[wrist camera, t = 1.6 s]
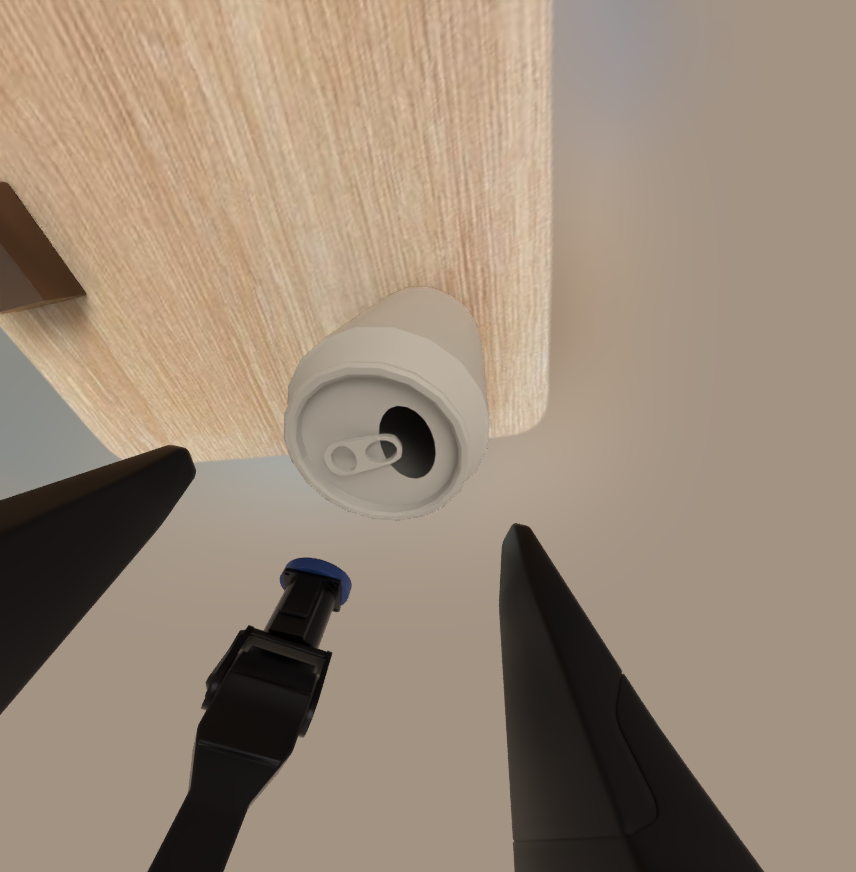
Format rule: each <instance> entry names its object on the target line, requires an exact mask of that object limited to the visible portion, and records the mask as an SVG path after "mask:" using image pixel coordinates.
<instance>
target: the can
mask: <svg viewBox="0 0 856 872" xmlns="http://www.w3.org/2000/svg"><path fill="white" fill-rule="evenodd" d="M489 425H490V417H489V407H488V398H487V388H486V378H485V369H484V359H483V349H482V342H481V338H480V334H479V330H478V327H477V324H476V322H475V320H474V319H473V317H472V316H471V314H470V313H469V311H468V310H467V308H466V307H465V306H464V305H463V304H461V303H460V302H459V301H458V300H456V299H455V298H454V297H452V296H451V295H450V294H448V293H445V292H443V291H440V290H437V289H434V288H431V287H407V288H405V289H402V290H400V291H397V292H395V293H392V294H389V295H388V296H386V297H385V298H383V299H382V300H380V301H379V302H377V303H376V304H375V305H373V306H372V307H370V308H369V309H367V310H366V311H364V312H363V313H361V314H360V315H358V316H357V317H355V318H354V319H352V320H351V321H349V322H348V323H346V324H345V325H343V326H342V327H340V328H339V329H337V330H336V331H334V332H333V333H331V334H330V335H328V336H327V337H325V338H324V339H322V340H321V341H320V342H319V343H318V344H317V345H316V346H315V347H314V348H313V349H312V350H311V351H309V352H308V353H307V354H306V355H305V356H304V357H303V358H302V359H301V360H300V361H299V364H298V366H297V368H296V370H295V373H294V375H293V377H292V379H291V382H290V384H289V386H288V407H287V409H286V412H285V419H284V439H285V442H286V445H287V448H288V451H289V454H290V457H291V460H292V462H293V464H294V465H295V467H296V468H297V469H298V471H299V472H300V474H301V475H302V476H303V478H304V479H305V481H306V482H307V483H308V484H309V485H310V486H311V487H313V488H314V489H315V490H316V491H317V492H318V493H319V494H321V495H322V496H323V497H324V498H325V499H326V500H328V501H330V502H332V503H334V504H336V505H338V506H339V507H341V508H343V509H345V510H347V511H349V512H352V513H355V514H359V515H362V516H366V517H369V518H373V519H384V520H385V519H386V520H404V519H410V518H416V517H422V516H425V515H427V514H429V513H431V512H433V511H435V510H438V509H440V508H442V507H444V506H445V505H446V504H447V503H448V502H449V501H450V500H451V499H452V498H453V497H455V496H456V495H457V494H458V493H459V492H460V491H461V488H462V486H463V484H464V482H466V481H467V480H468V479H469V478H470V477H471V476H472V475H473V474H474V473H475V472H476V470H477V468H478V466H479V464H480V462H481V460H482V458H483V456H484V454H485V452H486V450H487V446H488V436H489Z"/></svg>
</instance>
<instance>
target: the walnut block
mask: <svg viewBox="0 0 856 872" xmlns="http://www.w3.org/2000/svg"><path fill="white" fill-rule="evenodd" d="M83 295H86V293H85V292H84V290H83V289H82V288H81V286H80V285H79V283H78V282H77V281H76V279H75V278H74V276H73V275H72V273H71V272H70V271H69V269H68V268H67V266H66V265H65V264H64V262H63V261H62V259H61V258H60V257H59V255H58V254H57V252H56V251H55V249H54V248H53V247H52V245H51V244H50V242H49V241H48V240H47V238H46V237H45V235H44V234H43V232H42V231H41V230H40V228H39V227H38V225H37V224H36V223H35V221H34V220H33V218H32V217H31V216H30V214H29V213H28V211H27V210H26V208H25V207H24V206H23V204H22V203H21V201H20V200H19V199H18V197H17V196H16V194H15V193H14V191H13V190H12V189H11V187H10V186H9V184H8V183H6V182H0V314H5V313H11V312H17V311H23V310H27V309H31V308H35V307H39V306H43V305H47V304H51V303H55V302H59V301H63V300H67V299H71V298H75V297H79V296H83Z"/></svg>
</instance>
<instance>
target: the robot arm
mask: <svg viewBox="0 0 856 872" xmlns="http://www.w3.org/2000/svg"><path fill="white" fill-rule="evenodd" d="M195 474H196V469H195V466H194V463H193V461H192V458H191V455H190V453H189V451H188V450H187V449H186V448H183V447H179V446H175V445H167V446H164V447H161V448H158V449H155V450H152V451H149V452H146V453H143V454H140V455H137V456H134V457H131V458H128V459H124V460H122V461H118V462H115V463H112V464H109V465H107V466H103V467H100V468H97V469H94V470H91V471H88V472H85V473H82V474H79V475H76V476H73V477H70V478H67V479H64V480H61V481H58V482H55V483H52V484H49V485H46V486H43V487H40V488H36V489H34V490H31V491H27V492H24V493H22V494H18V495H15V496H12V497H9V498H6V499H3V500H0V715H1V713H2V712H3V711H4V710H5V709H6V708H7V706H8V705H9V704H10V703H11V702H12V700H13V699H14V698H15V697H16V696H17V695H18V693H19V692H20V691H21V690H22V689H23V688H24V686H25V685H26V684H27V683H28V682H29V680H30V679H31V678H32V677H33V676H34V674H35V673H36V672H37V671H38V670H39V669H40V667H41V666H42V665H43V664H44V663H45V661H46V660H47V659H48V658H49V657H50V656H51V655H52V653H53V652H54V651H55V650H56V649H57V648H58V646H59V645H60V644H61V643H62V642H63V640H64V639H65V638H66V637H67V636H68V635H69V633H70V632H71V631H72V630H73V629H74V628H75V626H76V625H77V624H78V623H79V622H80V620H81V619H82V618H83V617H84V616H85V615H86V613H87V612H88V611H89V610H90V608H92V606H93V605H94V604H95V603H96V602H97V600H98V599H99V598H100V597H101V596H102V595H103V593H104V592H105V591H106V590H107V589H108V588H109V586H110V585H111V584H112V583H113V582H114V581H115V579H116V578H117V577H118V576H119V575H120V573H121V572H122V571H123V570H124V569H125V567H126V566H127V565H128V564H129V563H130V562H131V560H132V559H133V558H134V557H135V556H136V555H137V553H138V552H139V551H140V550H141V549H142V548H143V546H144V545H145V544H146V543H147V542H148V540H149V539H150V538H151V537H152V536H153V535H154V533H155V532H156V531H157V530H158V528H159V527H160V526H161V525H162V523H163V522H164V520H165V519H166V518H167V516H168V515H169V513H170V512H171V511H172V509H173V507H174V506H175V505H176V503H177V502H178V500H179V499H180V498H181V496H182V495H183V493H184V492H185V491H186V489H187V488H188V486H189V485H190V483H191V482H192V480H193V479H194V477H195ZM283 578H284V585H285V591H284V593H283V595H282V597H281V599H280V601H279V603H278V604H277V606H276V608H275V610H274V612H273V614H272V616H271V618H270V620H269V621H268V624H267V625H266V627H265V629H264V631H262V630H259V629H255V628H254V627H253V626H250V625H249V626H248V627H247V628H246V630H241V631H239V633H238V635H237V636H236V638H235V640H234V642H233V643H232V645H231V647H230V648H229V650H228V651H227V652H226V654H225V655H224V657H223V658H222V659H221V661H220V662H219V663H218V665H217V666H216V667H215V669H214V670H213V672H212V673H211V674H210V676H209V677H208V679H207V681H206V687H207V692H206V695H205V700H204V702H203V704H202V707H201V709H204V710H206V712H205V714H204V716H203V717H202V719H201V721H200V723H199V725H198V728H197V733H196V738H195V743H194V747H193V754H192V762H191V771H190V780H189V790H188V794H187V796H186V798H185V800H184V802H183V804H182V806H181V808H180V810H179V812H178V814H177V816H176V818H175V820H174V822H173V823H172V825H171V827H170V829H169V831H168V833H167V835H166V837H165V839H164V841H163V843H162V845H161V847H160V849H159V851H158V853H157V855H156V857H155V859H154V860H153V862H152V864H151V866H150V868H149V870H148V872H223V871H224V869H225V866H226V863H227V861H228V858H229V856H230V853H231V851H232V848H233V845H234V843H235V840H236V838H237V835H238V832H239V830H240V827H241V825H242V822H243V819H244V817H245V814H246V812H247V809H248V808H249V807H250V806H251V805H252V803H253V802H254V801H255V800H256V799H257V798H258V796H259V795H260V794H261V793H262V792H263V790H264V789H265V788H266V787H267V785H268V784H269V783H270V782H271V781H272V780H273V778H274V777H275V776H276V775H277V774H278V772H279V771H280V770H281V768H282V767H283V765H284V764H285V762H286V761H287V759H288V758H289V756H290V755H291V753H292V751H293V749H294V746H295V743H296V741H297V738H298V736H299V737H304V736H305V734H306V732H307V730H308V728H309V725H310V722H311V720H312V717H313V715H314V712H315V709H316V706H317V703H318V700H319V697H320V694H321V690H322V687H323V683H324V680H325V676H326V673H327V670H328V666H329V663H330V659H331V656H332V652H330V651H327V652H326V651H323V650H320V649H318V647H319V645H320V642H321V639H322V637H323V634H324V631H325V628H326V626H327V623H328V621H329V618H330V615H331V612H332V611H334V612H339V611H340V608H341V591H342V581H341V580H340V579H337V578H332V577H328V576H323V575H319V574H314V573H310V572H305V571H301V570H296V569H292V568H285V569H284V571H283ZM499 614H500V631H501V647H502V664H503V680H504V696H505V697H504V698H505V715H506V731H507V747H508V762H509V763H508V764H509V780H510V798H511V814H512V830H513V840H514V842H513V850H514V868H515V872H764V871H763V869H762V868H761V867H760V866H759V864H758V863H757V862H756V860H755V859H754V857H753V856H752V855H751V853H750V852H749V850H748V849H747V848H746V846H745V845H744V844H743V842H742V841H741V840H740V838H739V837H738V835H737V834H736V833H735V831H734V830H733V829H732V827H731V826H730V824H729V823H728V822H727V820H726V819H725V818H724V816H723V815H722V814H721V812H720V811H719V810H718V808H717V807H716V805H715V804H714V803H713V801H712V800H711V798H710V797H709V796H708V794H707V793H706V792H705V790H704V789H703V788H702V786H701V785H700V784H699V782H698V781H697V779H696V778H695V777H694V776H693V774H692V773H691V771H690V770H689V768H688V767H687V766H686V764H685V763H684V761H683V760H682V759H681V757H680V756H679V755H678V753H677V752H676V750H675V749H674V747H673V746H672V745H671V743H670V742H669V740H668V739H667V738H666V736H665V735H664V733H663V732H662V731H661V729H660V728H659V726H658V725H657V723H656V722H655V720H654V719H653V717H652V716H651V714H650V713H649V711H648V710H647V708H646V707H645V705H644V704H643V702H642V701H641V699H640V698H639V696H638V695H637V693H636V691H635V690H634V688H633V687H632V685H631V684H630V682H629V681H628V679H627V677H626V676H625V675H624V674H622V670H621V669H620V667H619V665H618V664H617V662H616V661H615V659H614V658H613V656H612V654H611V653H610V651H609V650H608V648H607V647H606V645H605V643H604V642H603V640H602V639H601V637H600V636H599V634H598V633H597V631H596V629H595V628H594V627H593V625H592V623H591V622H590V620H589V619H588V617H587V615H586V614H585V612H584V611H583V609H582V608H581V606H580V605H579V603H578V602H577V600H576V599H575V597H574V595H573V594H572V592H571V591H570V589H569V587H568V586H567V584H566V583H565V581H564V580H563V578H562V577H561V575H560V573H559V572H558V570H557V569H556V567H555V566H554V564H553V563H552V561H551V559H550V558H549V557H548V555H547V553H546V552H545V550H544V549H543V547H542V546H541V544H540V542H539V541H538V539H537V538H536V536H535V535H534V533H533V531H532V530H531V528H530V527H528V526H526V525H521V524H517V523H515V524H513V525H512V526H511V528H510V530H509V532H508V533H507V535H506V537H505V539H504V541H503V544H502V554H501V575H500V595H499Z"/></svg>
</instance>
